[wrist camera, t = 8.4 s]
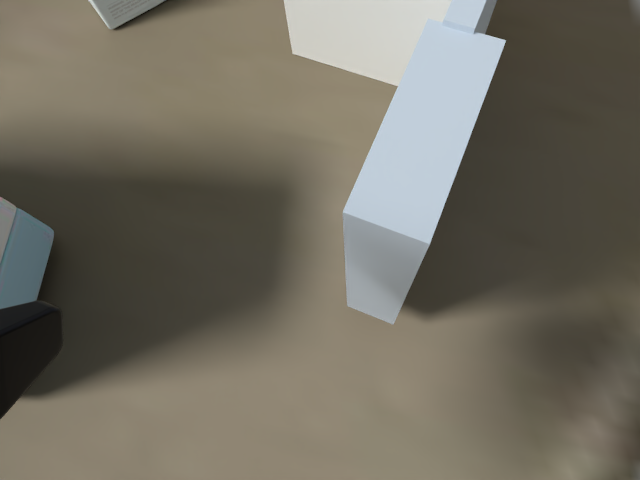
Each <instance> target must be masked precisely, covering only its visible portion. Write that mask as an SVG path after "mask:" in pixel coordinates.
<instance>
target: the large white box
mask: <svg viewBox="0 0 640 480" xmlns="http://www.w3.org/2000/svg"><path fill="white" fill-rule="evenodd" d="M451 1H452V0H284V5H285V11H286V17H287V23H288V29H289V35H290V41H291V47H292V53H293V54H295V55H299V56H302V57H305V58H308V59H311V60H315V61H318V62H321V63H324V64H328V65H331V66H334V67H337V68H340V69H344V70H347V71H350V72H353V73H357V74H360V75H363V76H366V77H369V78H373V79H376V80H379V81H382V82H386V83H389V84H392V85H395V86H399V83H400V81H401V79H402V77H403V74H404V72H405V70H406V68H407V65H408V63H409V61H410V58H411V56H412V54H413V52H414V49H415V47H416V45H417V43H418V40H419V38H420V36H421V34H422V31H423V29H424V27H425V24H426V22H427V20H428V19H432V20H435V21H439V22H443V20H444V17H445V15H446V13H447V10H448V8H449V6H450V3H451Z"/></svg>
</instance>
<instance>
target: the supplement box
mask: <svg viewBox="0 0 640 480" xmlns="http://www.w3.org/2000/svg"><path fill="white" fill-rule="evenodd" d="M164 1H166V0H89V2H90V3H91V4H92V6H93V7H94V9H95V10H96V11H97V13H98V14H99V15H100V17H101V18H102V20H103V21H104V22H105V24H106V25H107V26H108V28H109V29H114V28H116V27H118V26H120V25H122V24H124V23H125V22H127V21H129V20H131V19H133V18H135V17H137V16H138V15H140V14H142V13H144V12H145V11H147V10H149V9H151V8H153V7H155V6H157V5H158V4H160V3H162V2H164Z"/></svg>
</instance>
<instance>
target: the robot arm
mask: <svg viewBox="0 0 640 480" xmlns="http://www.w3.org/2000/svg"><path fill="white" fill-rule="evenodd" d="M62 345H63V316H62V311H61V310H60V308H58V307H57V306H54V305H52V304H50V303H47V302H45V301H40V300H39V301H33V302H28V303H24V304H19V305H15V306H11V307H6V308H2V309H0V419H1V418H2V417H3V416H4V415H5V414H6V413H7V411H8V410H9V409H10V408H11V407H12V406H13V405H14V404H15V402H16V401H17V400H18V399H19V398H20V397H21V396H22V394H23V393H24V392H25V391H26V390H27V389H28V388H29V387H30V385H31V384H32V383H33V382H34V381H35V380H36V379H37V377H38V376H39V375H40V374H41V373H42V372H43V371H44V369H45V368H46V367H47V366H48V365H49V364H50V363H51V362H52V360H53V359H54V358H55V357H56V356H57V354H58V353H59V351H60V350H61V347H62Z"/></svg>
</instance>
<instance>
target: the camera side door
mask: <svg viewBox="0 0 640 480" xmlns="http://www.w3.org/2000/svg"><path fill="white" fill-rule="evenodd" d="M496 2H497V0H452V1H451V3H450V6H449V8H448V10H447V13H446V15H445V17H444V20H443V22H439V21H435V20H432V19H428V20H427V22H426V24H425V27H424V29H423V31H422V34H421V36H420V38H419V40H418V43H417V45H416V47H415V49H414V52H413V54H412V56H411V58H410V61H409V63H408V65H407V68H406V70H405V72H404V74H403V77H402V79H401V81H400V83H399V86H398V88H397V90H396V92H395V95H394V97H393V99H392V102H391V104H390V106H389V108H388V111H387V113H386V115H385V117H384V120H383V122H382V124H381V126H380V129H379V131H378V133H377V136H376V138H375V140H374V142H373V145H372V147H371V149H370V151H369V154H368V156H367V158H366V161H365V163H364V165H363V167H362V170H361V172H360V174H359V176H358V179H357V181H356V183H355V185H354V188H353V190H352V192H351V195H350V197H349V199H348V201H347V204H346V206H345V208H344V210H343V228H344V249H345V270H346V290H347V306H349V307H351V308H354V309H356V310H359V311H361V312H363V313H366V314H368V315H371V316H373V317H376V318H378V319H381V320H383V321H386V322H388V323H391V324H394V322H395V320H396V318H397V315H398V313H399V311H400V309H401V307H402V304H403V302H404V300H405V298H406V296H407V293H408V291H409V289H410V287H411V284H412V282H413V280H414V278H415V276H416V273H417V271H418V269H419V267H420V265H421V262H422V260H423V258H424V256H425V254H426V251H427V249H428V247H429V245H430V242H431V240H432V237H433V234H434V232H435V229H436V226H437V224H438V221H439V218H440V216H441V213H442V210H443V208H444V205H445V202H446V200H447V197H448V194H449V192H450V189H451V186H452V184H453V181H454V178H455V176H456V173H457V170H458V168H459V165H460V162H461V160H462V157H463V154H464V152H465V149H466V146H467V144H468V141H469V138H470V136H471V133H472V130H473V128H474V125H475V122H476V120H477V117H478V114H479V112H480V109H481V106H482V104H483V101H484V98H485V96H486V93H487V90H488V88H489V85H490V82H491V80H492V77H493V74H494V72H495V69H496V66H497V64H498V61H499V58H500V56H501V53H502V50H503V48H504V45H505V42H506V40H503V39H500V38H496V37H493V36H489V35H485V33H486V30H487V27H488V24H489V22H490V19H491V16H492V13H493V10H494V7H495V4H496Z"/></svg>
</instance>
